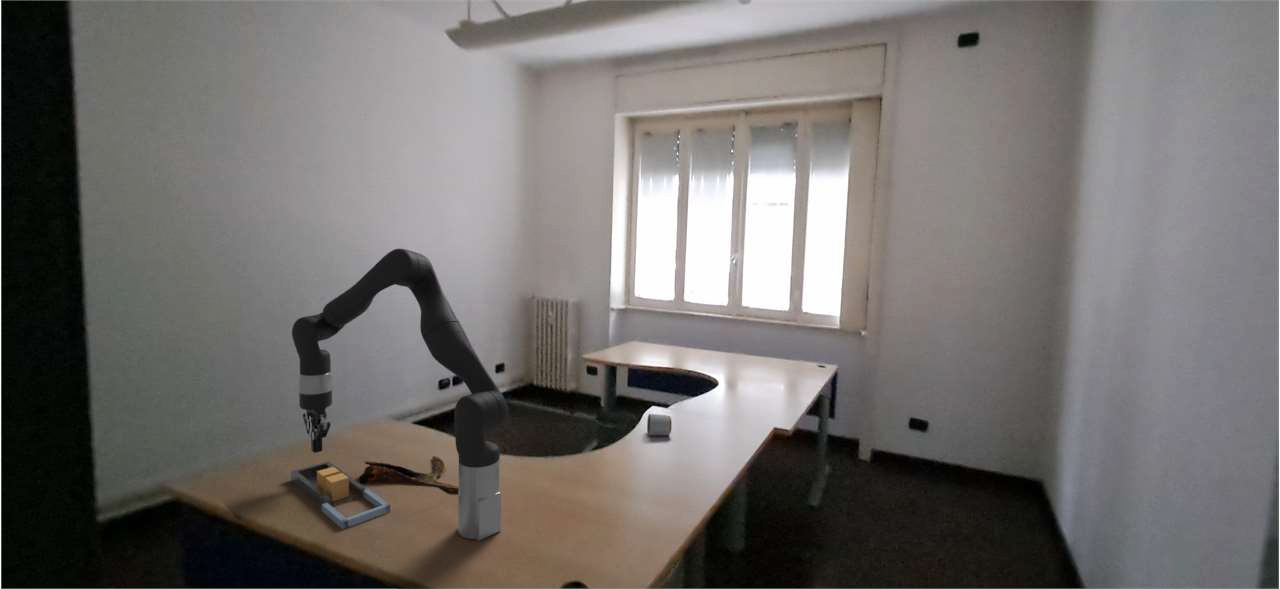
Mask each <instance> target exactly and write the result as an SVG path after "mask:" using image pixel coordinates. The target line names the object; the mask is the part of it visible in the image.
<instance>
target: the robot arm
mask: <svg viewBox="0 0 1280 589" xmlns="http://www.w3.org/2000/svg"><path fill="white" fill-rule="evenodd" d="M394 285H396V286H400V287H405V288H408V289H409V290H410V291H411V292H412V294H413V296H414V298H415V300H416V302H417V303H418V305H419V309H420V325H419V326H420V327H419V330H420V333H421V337H422V339H423V341H424V343H425V345H426V347H427V349H428V351H429V353H430V355H431V356H432V358H433V359H434V360H435V361H436V362H438V363H439V364H440V365H441V366H443V367H444V368H445V369H447V370H448V371H449V372H451V373H453V375H455V376H457V377H458V378H459V379H460V380H461V381H462V382H463V383H464V384H465V385H466V387H467V389H469V391H470V394H467V395H465V396H462V397H460V398H459V399H458V400H457V402H456V403H455V408H454V414H453V415H454V418H453V419H454V420H453V421H454V434H455V435H454V436H455V440H454V441H455V449H456V452H457V455H458V487H459V493H457V494H458V495H457V496H458V498H457V499H458V504H457V506H458V511H457V512H458V515H457V516H458V517H457V518H458V521H457V522H458V524H457V532H458V535H460V537H463V538H465V539H469V540H476V541H478V542H480V541H482V540H484V539H486V538H488V537H490V536H492V535H495V534H497V533H499V532H501V531H502V529H501V528H502V527H501V526H502V525H501V524H502V492H500V461H501V460H500V457H501V456H500V455H501V453H500V447H499V445H498V444H496V443H494V442H491V441H487V440H486V439H485V433H486V432H487V431H491V430H493V429H496V428H498V427H500V426H503V425H504V424H505V423H506V422H507V419H508V416H509V409H508V404H507V401H506V398H505V397H504V394H503V393H502V391H501V390H500V389H499V387H498V386H497V384H496V383H495V381H494V380H493V378H492V377H491V375H490V374H489V372H488V371H487V370H486V368H485V366H484V365H483V363H482V361H481V360H480V358H479V356H478V354H477V353H476V351H475V350H474V348H473V345H472V344H471V342H470V340H469V338H468V336H467V334H466V332H465V330H464V328H463V327H462V324H461V322H460V320H459V319H458V318H457V315H455V314H456V313H455V312H454V310H453V307H452V306H451V305H450V303H449V301H448V299H447V297H446V296H445V293H444V291H443V290H442V286H441V284H440V281H439V279H438V277H437V274H436V271H435V269H434V266H433V264H432V262H431V261H430V259H429V258H428V257H426V255H424V254H422V253H419V252H416V251H413V250H410V249H405V248H395V249H392V250H390V251H389V252H387V253H386V254H385V255H384V256H383V257H382V258H381V259H379V261H378V262H376V264H375V265H374V266H372V267H371V268H370V269H369V270H368V272H366V273H365V274H364V275H363V276H362V277H361V278H359V280H358V281H357V282H356V283H354V284H353V285H352V286H351V287H349V288H348V289H347V290H346V291H344V292H343V293H341V294H339V295H338V296H337V297H335V298H334V299H332V300H331V301H329V302H328V303H327V304H325V306H324V307H323V309H322V312H320V313H318V314H313V315H307V316H302V317H300V318H297V320H295V321H294V323H293V326H292V330H291V335H292V336H291V337H292V340H293V343H294V346H295V349H296V353H297V355H298V358H299V379H298V394H299V395H298V397H299V401H298V403H299V408H300V409H301V410H304V411H306V412H305V413H302V418H303V422H304V426H305V430H306V434H307V435H309V438H310V445H311V447H310V448H311V449H310V450H311V452H313V453H314V454H315V453H319V452H322V451H323V438H326V437H327V435H328V433H329V431H330V427H331V422H330V421H327V418H328V413H327V412H326V409H327V408H328V407H331V405H332V404H333V380H332V378H333V377H332V373H331V371H332V370H331V367H332V366H331V353H330V352H329V351H328V350H326V349H321V348H320V345H319V342H320V341H321V342H322V341H325V340H328V339H330V338H333V337H334V336H335V335H337V333H339V332H340V331H341V330H342V329H343V328H344V327H345V326H346V325H347V324H350V322H352V321H354V320H355V319H357V318H359V316H361V315H362V314H364V313H365V312H366V311H367V310H368V309H369V308H370V306H371V304H372V302H373V300H374V299H375V297H376V296H377V295H378V294H379V293H380V292H382V291H383V290H386V289H388V288H390V287H392V286H394Z"/></svg>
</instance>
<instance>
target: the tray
mask: <svg viewBox="0 0 1280 589" xmlns="http://www.w3.org/2000/svg"><path fill="white" fill-rule="evenodd" d="M362 498H364V499H365V500H366V501H368V502H370V503H371V504H372V505H373V506H374V508H372V509H369V510H366V511H362V512H360V513H357V514H354V515H351V516H348V517H345V516H344V515H343V514H342V513H340V512H339V511H338V510H337V509H335V507H332V506H331V505H329V504H328V503H324V504H322V507H321V512H322V513H323V514H324V515H325V516H326V517H327V518H329V519H330V520H331V521H333V523H335V524H336V525H337V526H338V527H339V528H340V529H341V530H345V529H348V528H351V527H353V526H356V525H359V524H361V523H364V522H366V521H369V520H372V519H375V518H377V517H380V516H382V515H386V514H389V513H391V504H390V503H388V502H387V501H386V500H384V499H382V498H381V497H380V496H378V495H377V494H376V493H374V492H373V491H371V490H370V489H368V488H367V489H365V490H364V491H363V497H362Z"/></svg>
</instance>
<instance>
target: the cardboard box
mask: <svg viewBox="0 0 1280 589" xmlns="http://www.w3.org/2000/svg"><path fill="white" fill-rule="evenodd" d="M325 482H326V495H327V496H328V497H330V499H331V501H332V502H333V501H336V500H339V499H342V498H345V497H348V496H349V477H347V476H346V475H344V474H343V473H340V474H336V475H333V476H330V477H326V478H325Z"/></svg>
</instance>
